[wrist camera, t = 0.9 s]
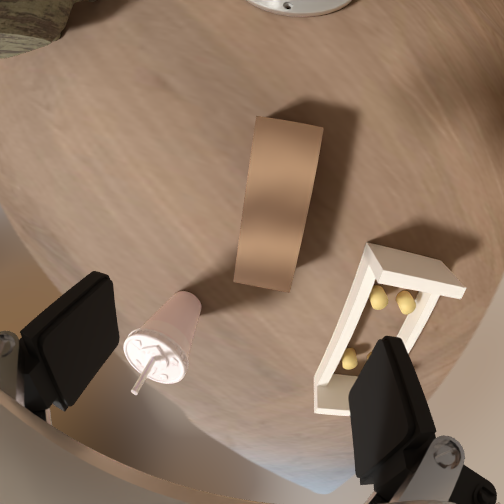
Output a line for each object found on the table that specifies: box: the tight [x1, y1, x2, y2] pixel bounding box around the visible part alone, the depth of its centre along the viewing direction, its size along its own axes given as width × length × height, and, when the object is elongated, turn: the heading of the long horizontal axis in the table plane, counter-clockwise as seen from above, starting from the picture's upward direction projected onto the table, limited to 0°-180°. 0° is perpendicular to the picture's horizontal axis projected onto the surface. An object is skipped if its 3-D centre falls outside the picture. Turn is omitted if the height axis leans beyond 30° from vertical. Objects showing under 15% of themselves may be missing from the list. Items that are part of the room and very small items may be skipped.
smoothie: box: [124, 291, 201, 395], centre depth 25 cm, size 6×6×14 cm
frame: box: [314, 242, 466, 416], centre depth 27 cm, size 19×9×6 cm, turn 171°
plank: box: [233, 116, 324, 293], centre depth 24 cm, size 14×5×4 cm, turn 172°
